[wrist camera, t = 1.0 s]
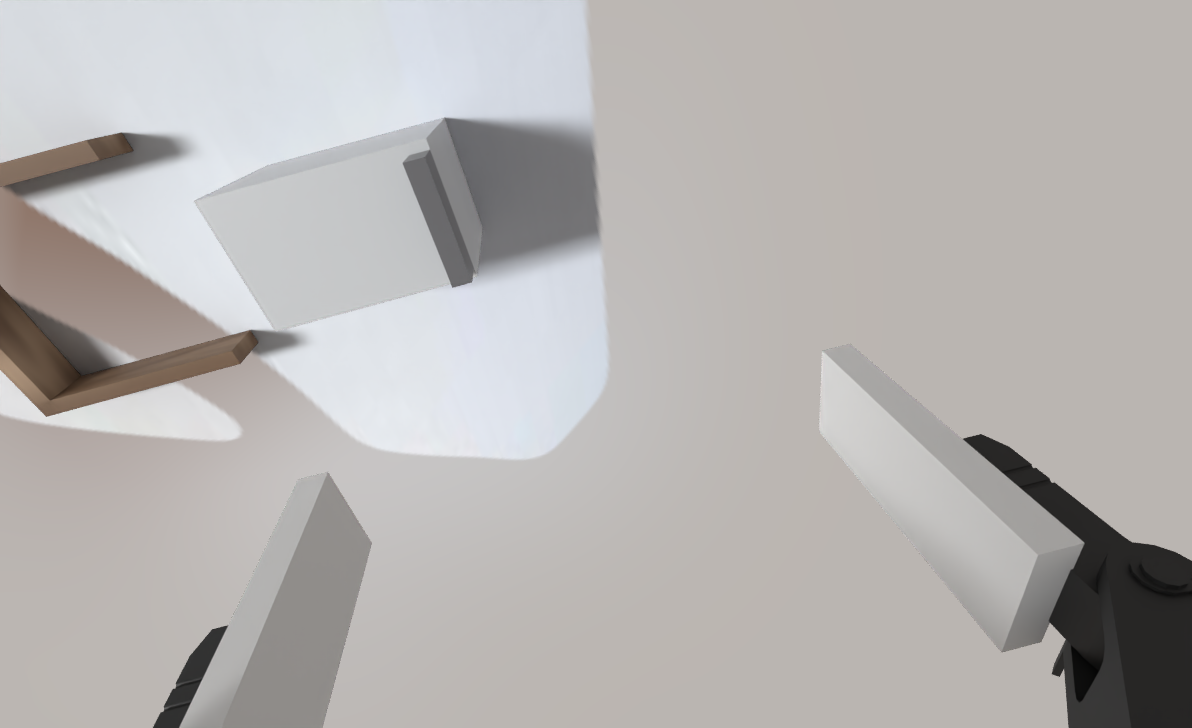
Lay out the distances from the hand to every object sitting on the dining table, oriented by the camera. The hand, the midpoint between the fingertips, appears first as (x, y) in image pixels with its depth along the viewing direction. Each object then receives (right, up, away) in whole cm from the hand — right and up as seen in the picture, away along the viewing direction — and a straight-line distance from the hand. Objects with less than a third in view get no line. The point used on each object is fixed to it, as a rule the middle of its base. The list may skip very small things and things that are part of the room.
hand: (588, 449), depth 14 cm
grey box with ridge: (-13, +13, +20) cm, 27 cm away
